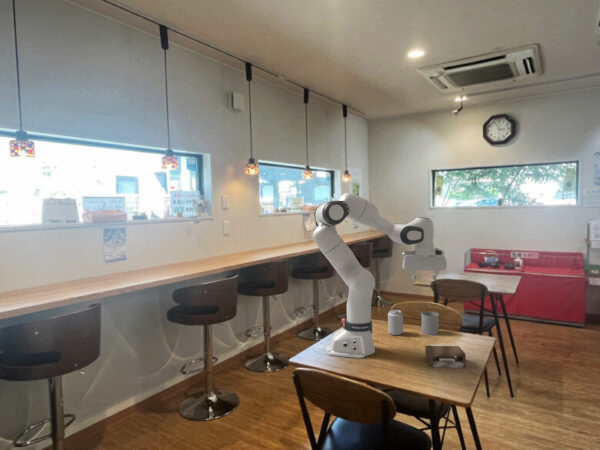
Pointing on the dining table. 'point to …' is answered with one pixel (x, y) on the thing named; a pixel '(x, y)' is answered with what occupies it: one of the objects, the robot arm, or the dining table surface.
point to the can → (395, 322)
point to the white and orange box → (444, 358)
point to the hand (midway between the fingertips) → (424, 279)
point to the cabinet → (445, 351)
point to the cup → (430, 323)
